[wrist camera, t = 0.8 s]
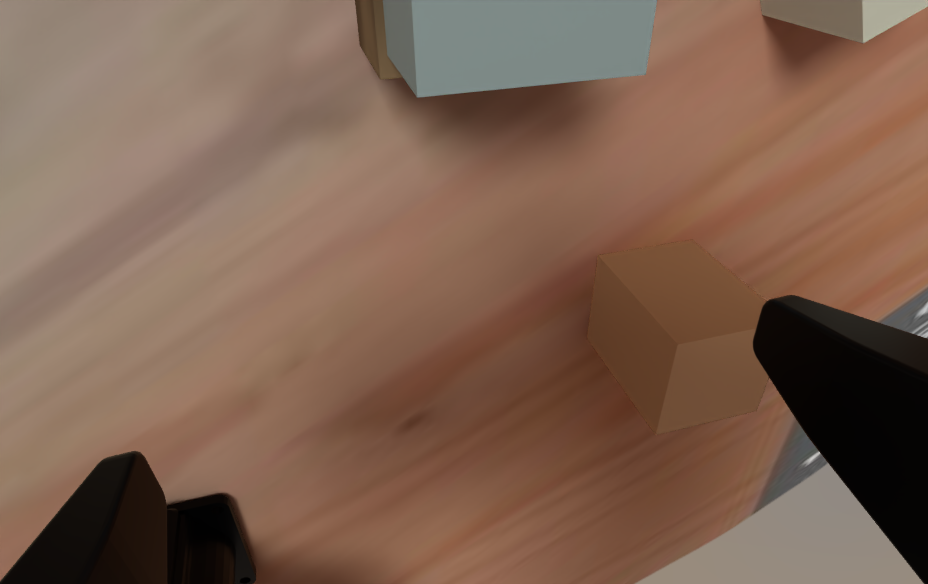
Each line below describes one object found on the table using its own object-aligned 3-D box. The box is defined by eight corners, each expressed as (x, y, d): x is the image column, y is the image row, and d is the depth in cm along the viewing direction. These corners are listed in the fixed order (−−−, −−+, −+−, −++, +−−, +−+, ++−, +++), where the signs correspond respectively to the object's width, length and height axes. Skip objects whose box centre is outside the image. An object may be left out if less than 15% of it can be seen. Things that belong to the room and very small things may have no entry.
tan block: (672, 321, 28) (756, 411, 24) (586, 338, 27) (655, 435, 23) (691, 239, 26) (789, 321, 21) (597, 254, 25) (677, 344, 20)
